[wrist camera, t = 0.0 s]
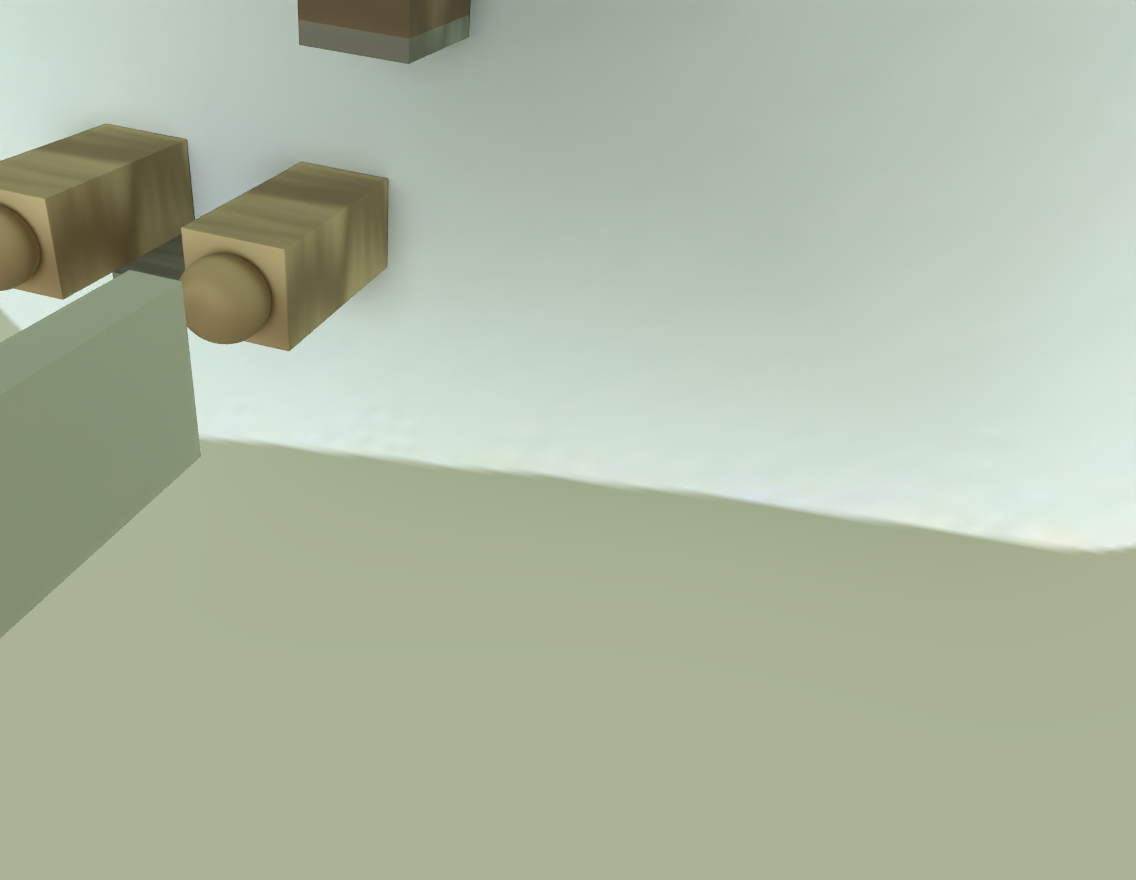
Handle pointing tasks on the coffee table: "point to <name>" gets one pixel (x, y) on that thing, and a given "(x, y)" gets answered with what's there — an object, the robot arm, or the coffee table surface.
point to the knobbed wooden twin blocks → (191, 233)
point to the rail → (383, 26)
